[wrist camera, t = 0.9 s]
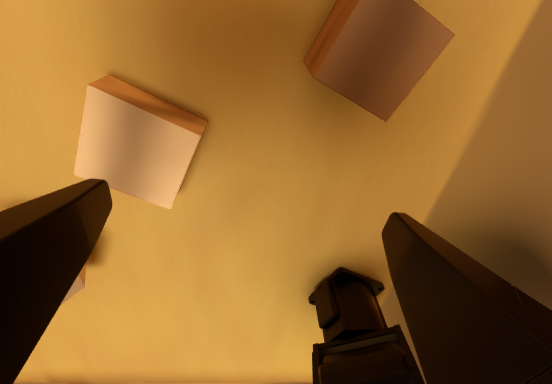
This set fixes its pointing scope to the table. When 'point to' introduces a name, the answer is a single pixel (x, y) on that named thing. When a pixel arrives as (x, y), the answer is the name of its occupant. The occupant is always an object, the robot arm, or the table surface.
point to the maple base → (136, 141)
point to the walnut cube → (376, 51)
